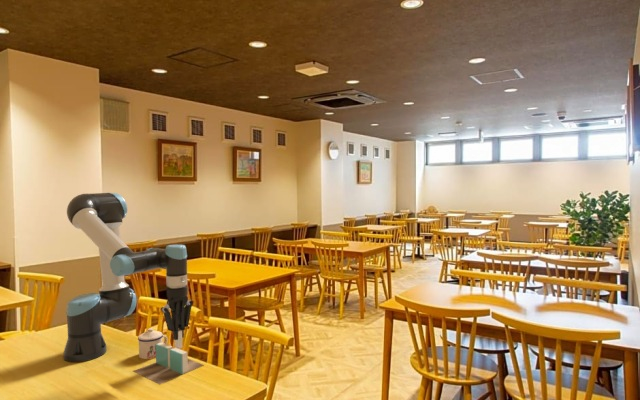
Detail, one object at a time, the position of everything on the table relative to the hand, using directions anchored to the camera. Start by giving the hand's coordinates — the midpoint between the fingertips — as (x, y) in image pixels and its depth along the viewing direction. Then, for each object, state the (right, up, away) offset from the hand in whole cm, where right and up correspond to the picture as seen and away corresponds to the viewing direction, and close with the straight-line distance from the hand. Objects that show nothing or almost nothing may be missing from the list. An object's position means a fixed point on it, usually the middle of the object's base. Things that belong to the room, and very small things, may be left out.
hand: (178, 347), depth 161 cm
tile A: (-4, -5, -5) cm, 8 cm away
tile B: (+4, -5, -10) cm, 12 cm away
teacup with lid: (-11, -6, +6) cm, 14 cm away
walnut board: (-1, -6, -8) cm, 10 cm away
